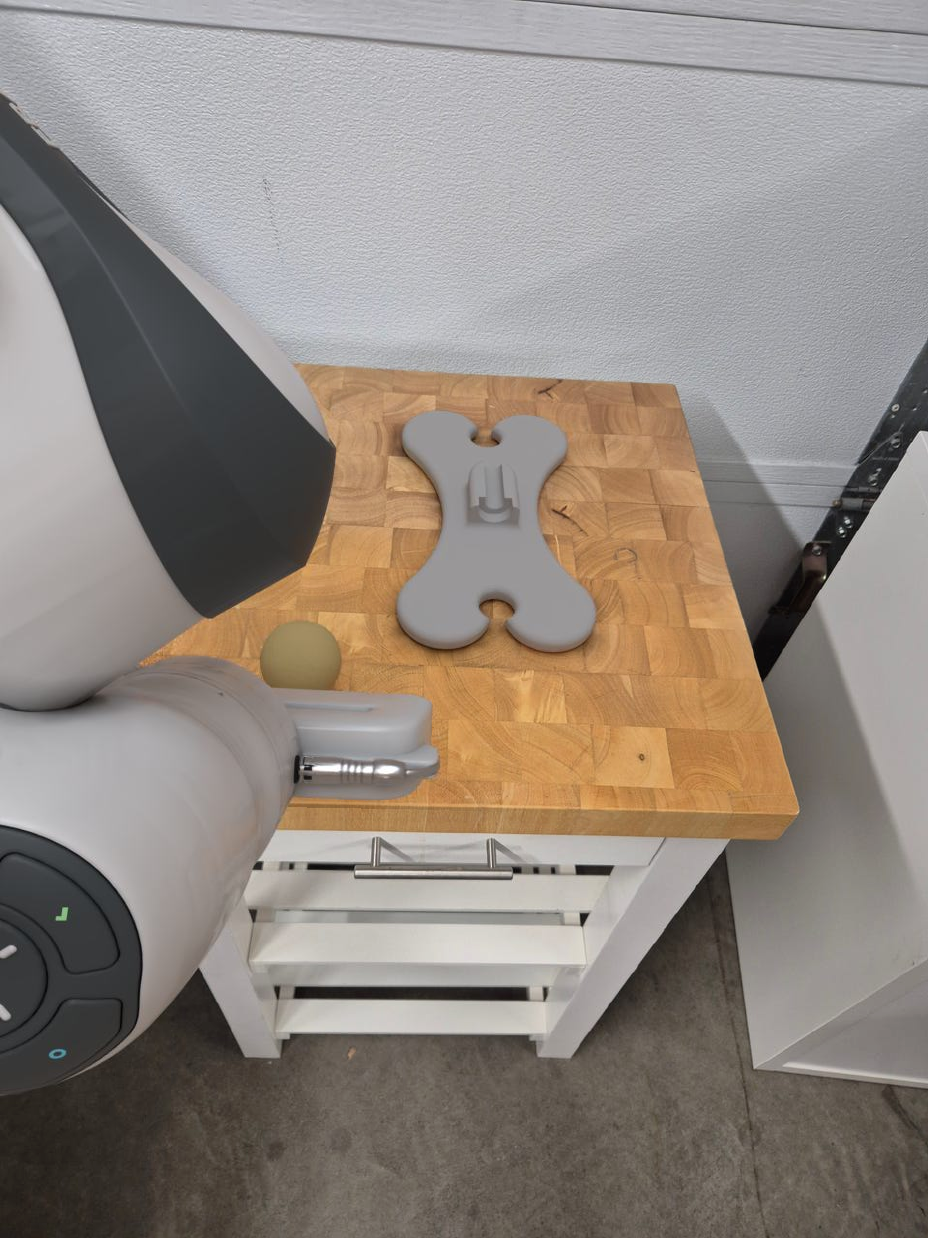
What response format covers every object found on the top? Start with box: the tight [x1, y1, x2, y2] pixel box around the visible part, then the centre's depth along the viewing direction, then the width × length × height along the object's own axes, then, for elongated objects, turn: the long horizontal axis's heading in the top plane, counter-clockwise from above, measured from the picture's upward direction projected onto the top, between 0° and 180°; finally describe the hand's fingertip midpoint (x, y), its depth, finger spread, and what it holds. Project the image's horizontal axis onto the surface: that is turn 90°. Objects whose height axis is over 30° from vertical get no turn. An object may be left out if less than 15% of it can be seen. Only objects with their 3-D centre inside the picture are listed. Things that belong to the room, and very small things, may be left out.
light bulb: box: [259, 620, 343, 690], centre depth 66 cm, size 6×6×10 cm
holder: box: [395, 409, 597, 653], centre depth 84 cm, size 19×34×5 cm, turn 2°
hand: (255, 700), depth 47 cm, fingers open, 8 cm apart
